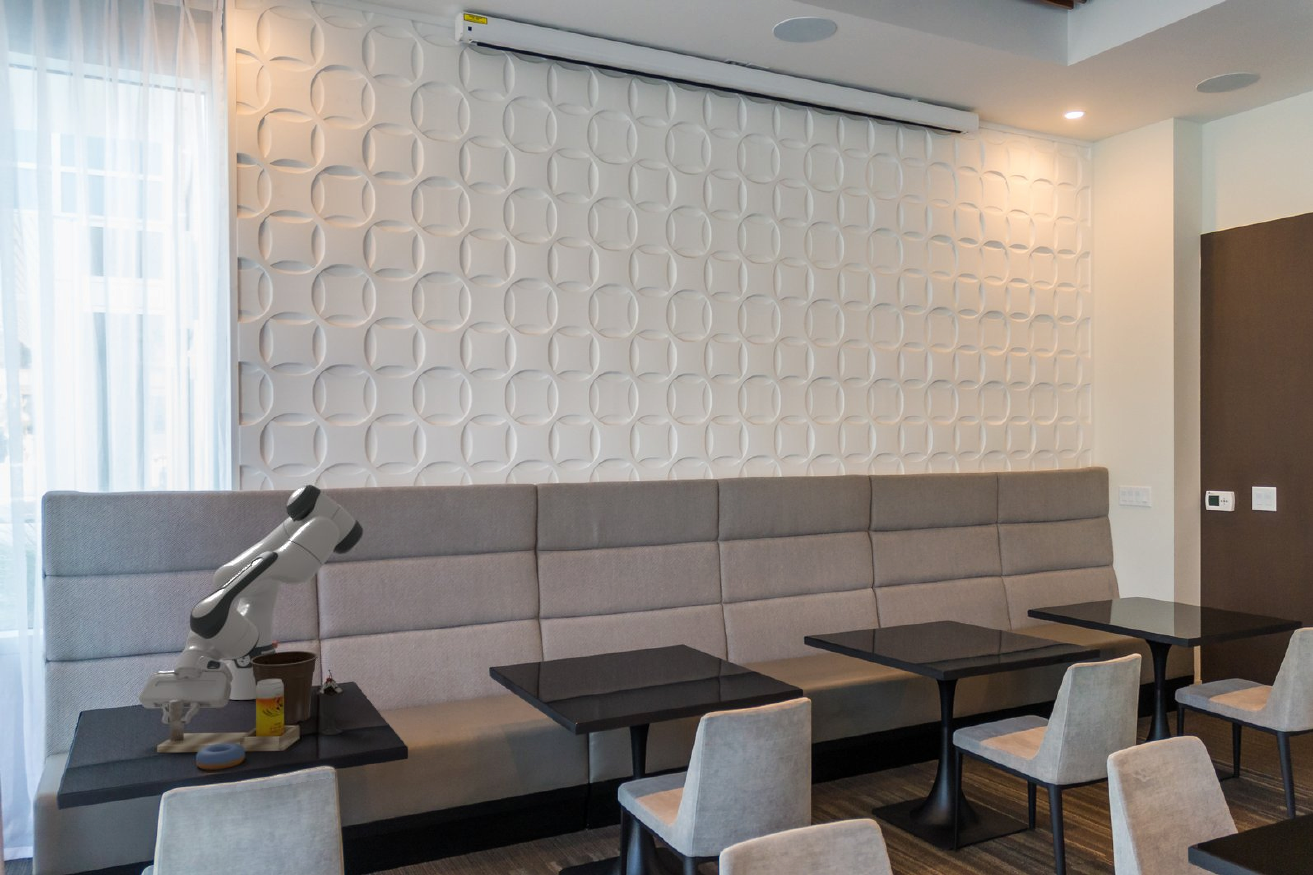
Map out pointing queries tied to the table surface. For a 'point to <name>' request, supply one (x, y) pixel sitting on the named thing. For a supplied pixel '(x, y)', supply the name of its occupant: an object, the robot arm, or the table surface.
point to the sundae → (331, 703)
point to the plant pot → (289, 680)
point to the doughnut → (220, 756)
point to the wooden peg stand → (220, 736)
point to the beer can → (269, 708)
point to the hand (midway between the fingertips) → (175, 722)
